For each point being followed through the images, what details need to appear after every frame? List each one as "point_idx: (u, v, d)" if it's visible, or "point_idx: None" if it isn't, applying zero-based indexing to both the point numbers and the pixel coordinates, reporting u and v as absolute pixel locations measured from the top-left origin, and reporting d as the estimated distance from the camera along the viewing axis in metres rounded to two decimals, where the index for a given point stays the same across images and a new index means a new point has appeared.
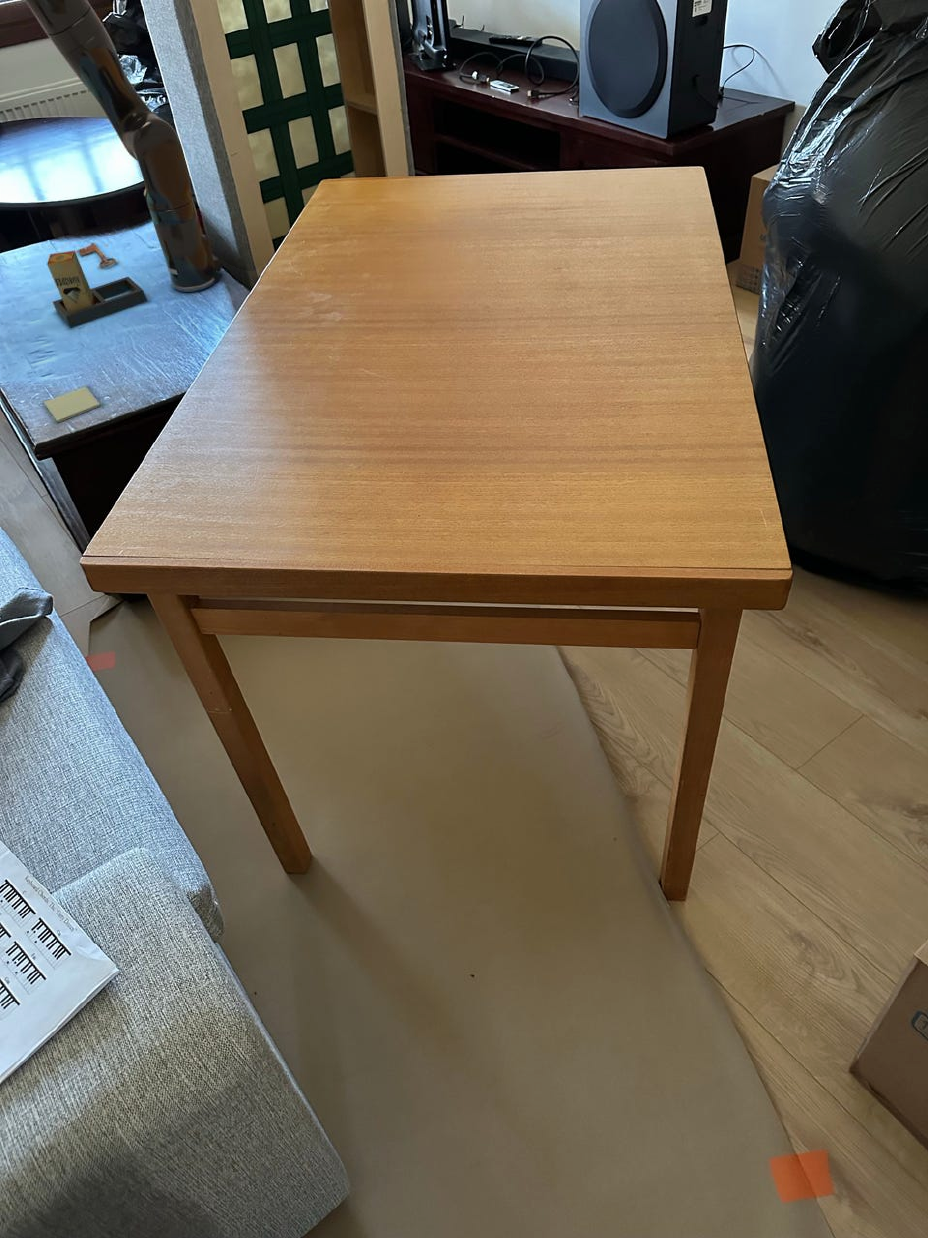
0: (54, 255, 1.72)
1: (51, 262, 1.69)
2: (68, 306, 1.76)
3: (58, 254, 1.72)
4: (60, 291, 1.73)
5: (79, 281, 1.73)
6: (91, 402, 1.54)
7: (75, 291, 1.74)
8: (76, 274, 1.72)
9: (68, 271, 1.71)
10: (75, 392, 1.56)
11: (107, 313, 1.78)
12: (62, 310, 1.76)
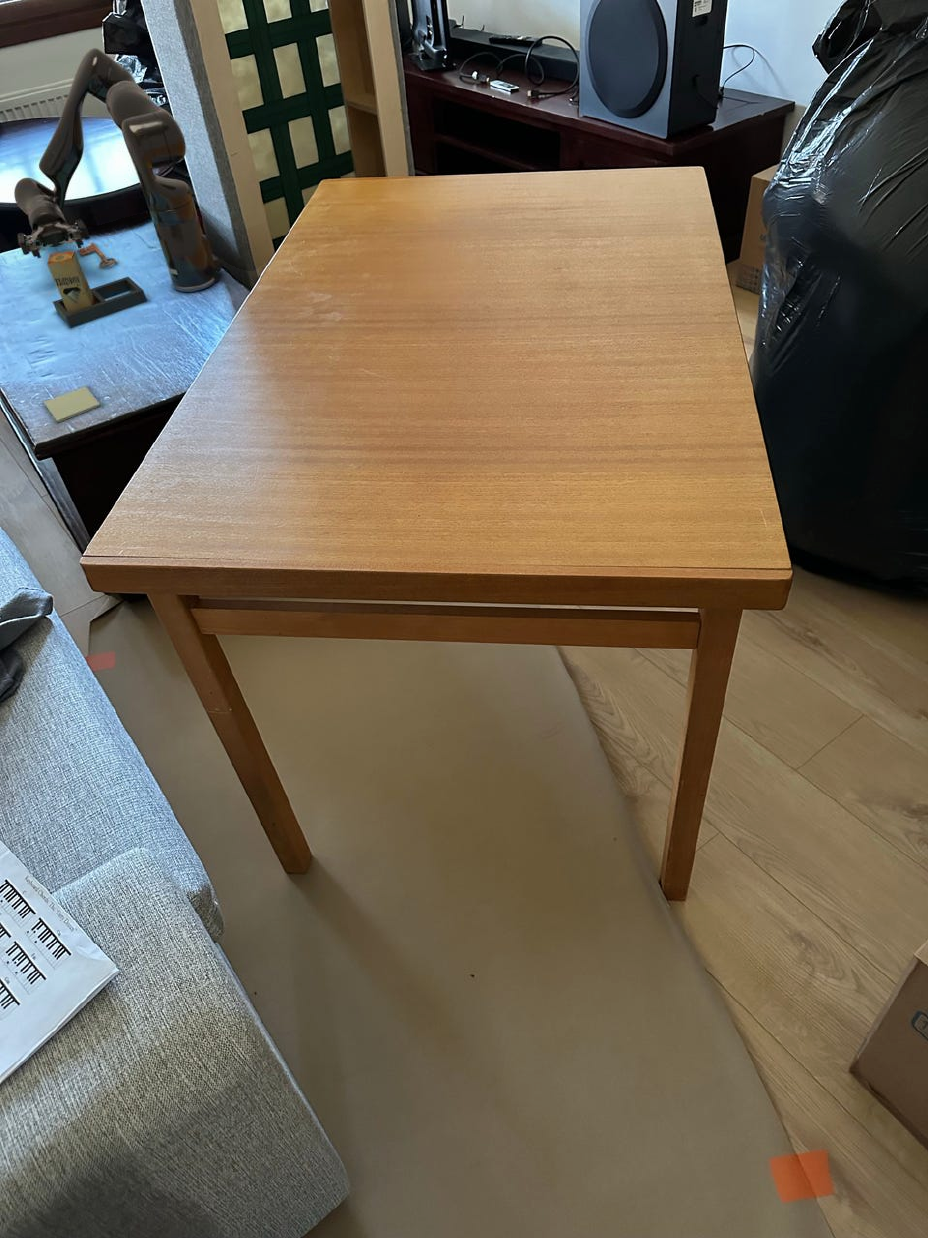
0: (54, 255, 1.72)
1: (51, 262, 1.69)
2: (68, 306, 1.76)
3: (58, 254, 1.72)
4: (60, 291, 1.73)
5: (79, 281, 1.73)
6: (91, 402, 1.54)
7: (75, 291, 1.74)
8: (76, 274, 1.72)
9: (68, 271, 1.71)
10: (75, 392, 1.56)
11: (107, 313, 1.78)
12: (62, 310, 1.76)
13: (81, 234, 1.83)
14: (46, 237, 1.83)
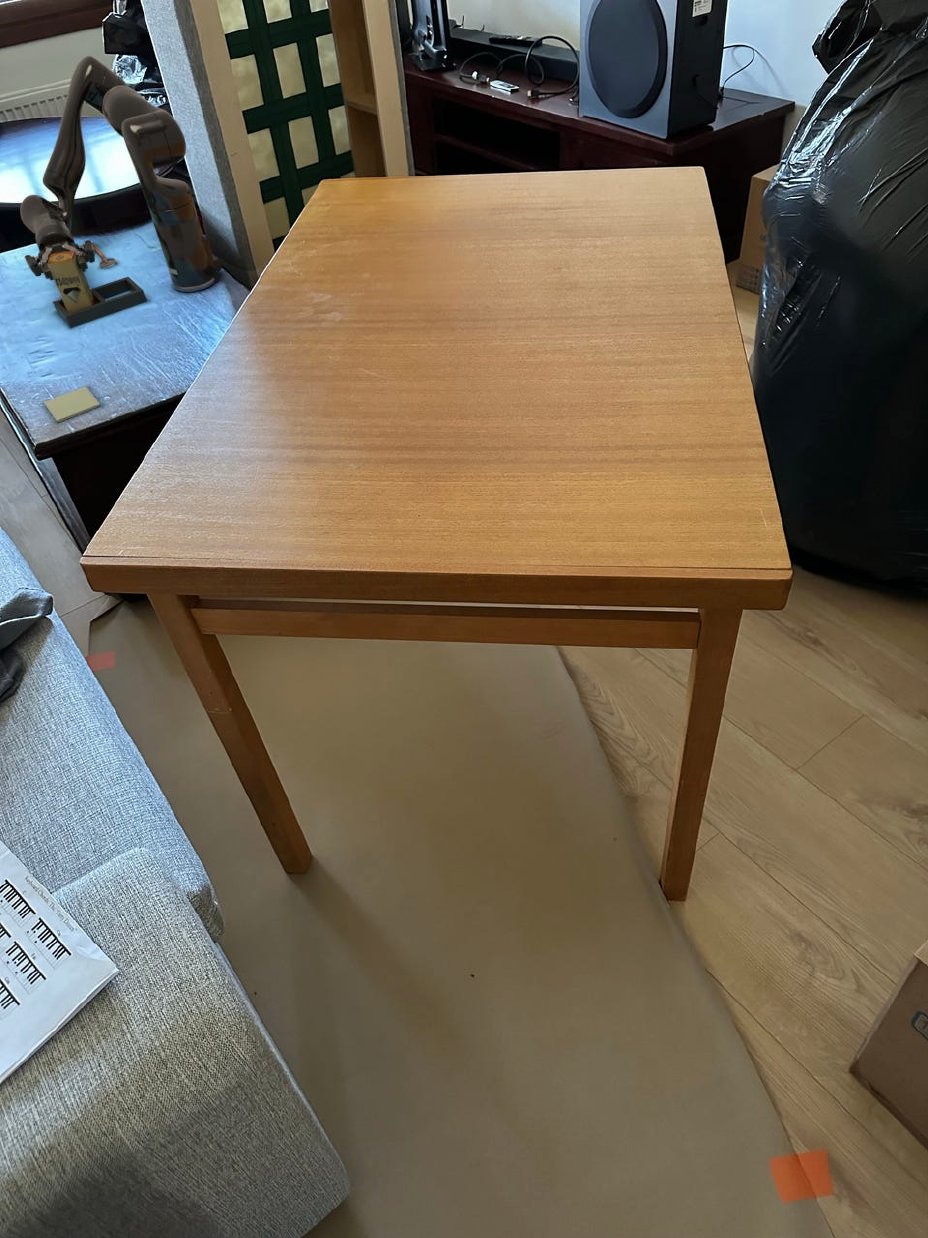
0: (55, 255, 1.72)
1: (52, 262, 1.69)
2: (68, 306, 1.76)
3: (58, 254, 1.72)
4: (60, 291, 1.73)
5: (79, 281, 1.73)
6: (91, 402, 1.54)
7: (75, 291, 1.74)
8: (76, 274, 1.72)
9: (68, 271, 1.71)
10: (75, 392, 1.56)
11: (107, 313, 1.78)
12: (62, 310, 1.76)
13: (86, 257, 1.75)
14: None
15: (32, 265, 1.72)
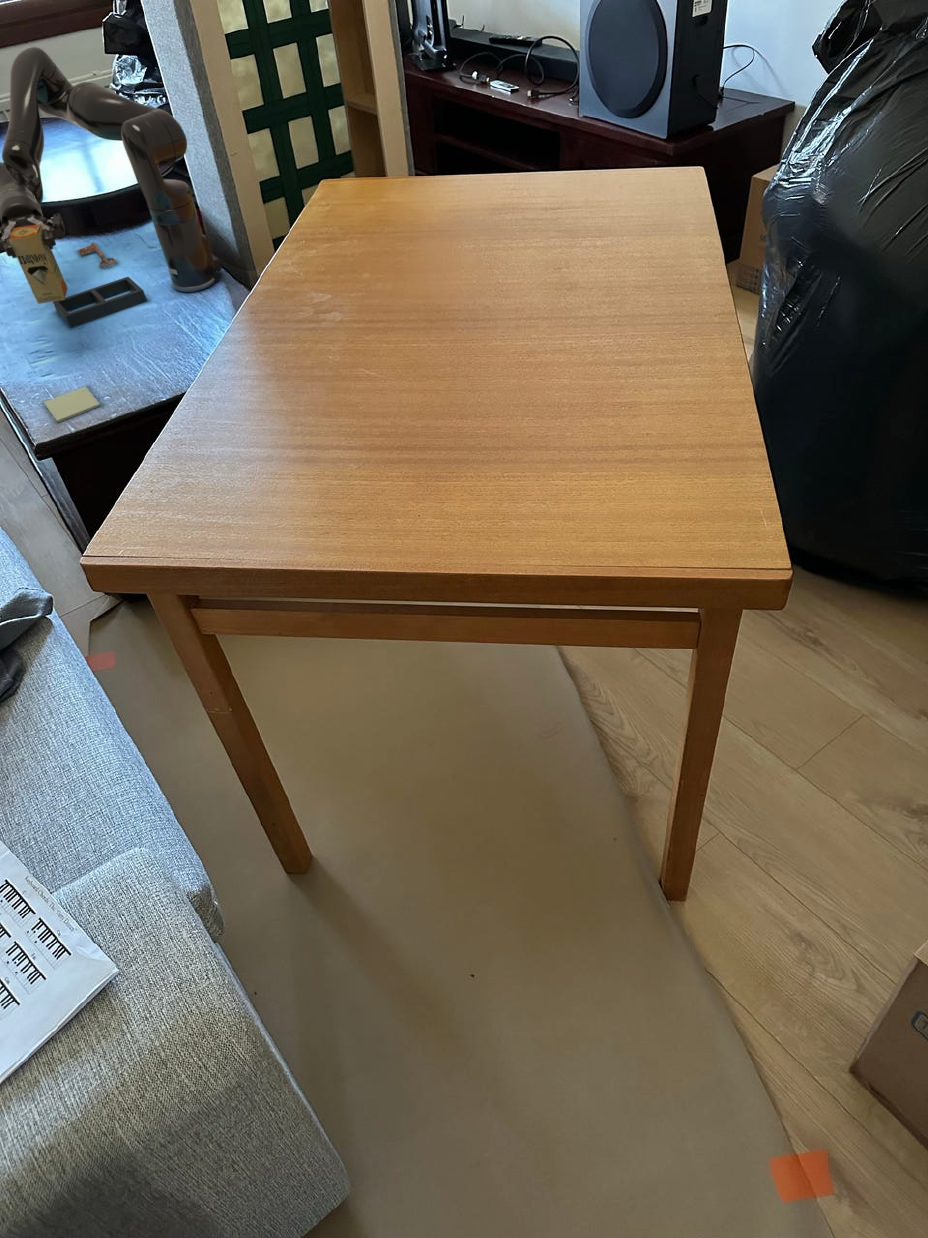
0: (17, 230, 1.51)
1: (14, 237, 1.49)
2: (34, 288, 1.55)
3: (22, 228, 1.52)
4: (24, 270, 1.53)
5: (46, 259, 1.52)
6: (91, 402, 1.54)
7: (41, 270, 1.54)
8: (42, 250, 1.51)
9: (33, 247, 1.51)
10: (75, 392, 1.56)
11: (107, 313, 1.78)
12: (62, 310, 1.76)
13: (53, 232, 1.54)
14: None
15: None
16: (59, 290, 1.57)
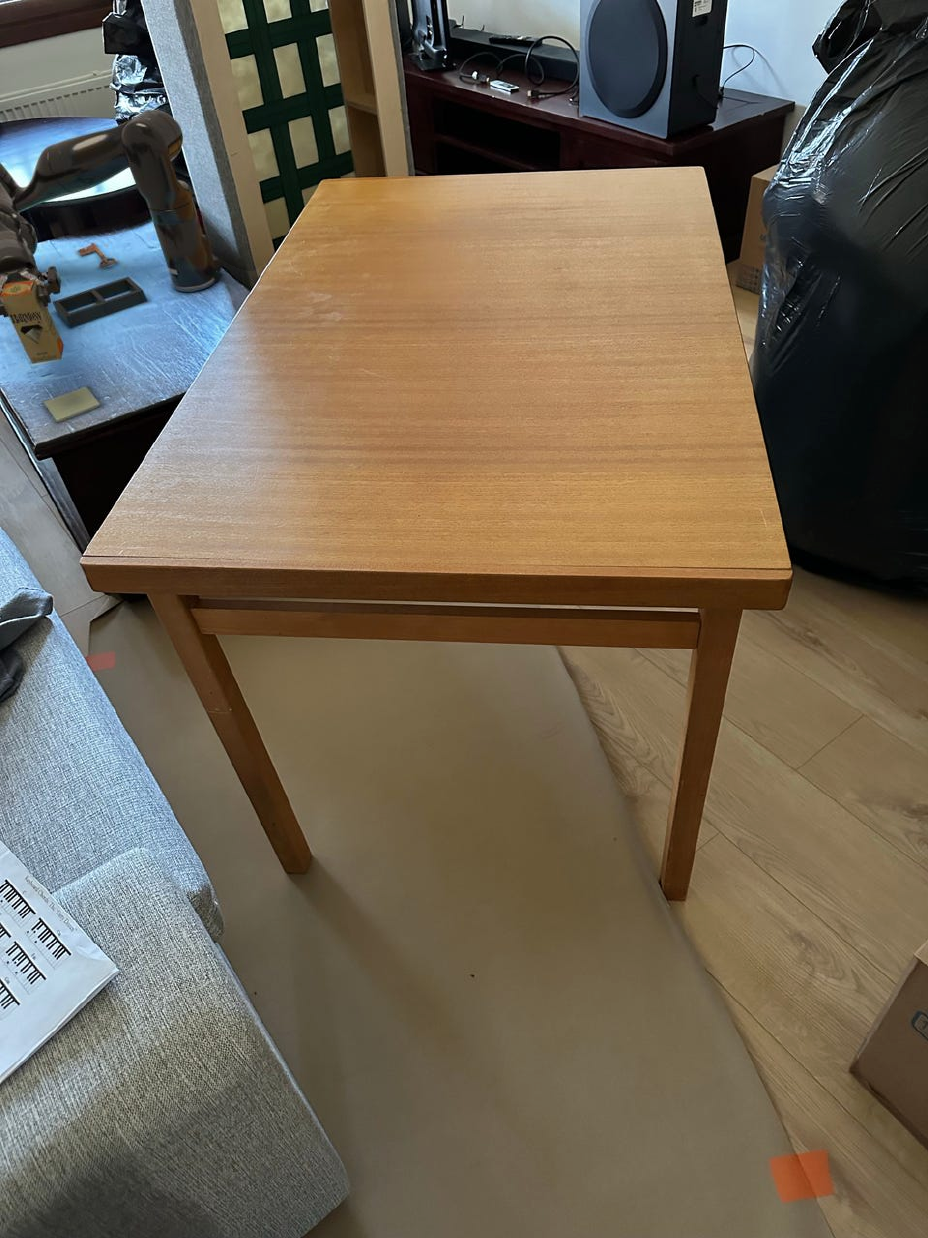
0: (9, 286, 1.39)
1: (5, 295, 1.37)
2: (27, 347, 1.44)
3: (14, 284, 1.40)
4: (17, 330, 1.41)
5: (40, 317, 1.41)
6: (91, 402, 1.54)
7: (36, 329, 1.42)
8: (36, 309, 1.39)
9: (27, 305, 1.39)
10: (75, 392, 1.56)
11: (107, 313, 1.78)
12: (62, 310, 1.76)
13: (48, 288, 1.42)
14: None
15: None
16: (55, 349, 1.45)
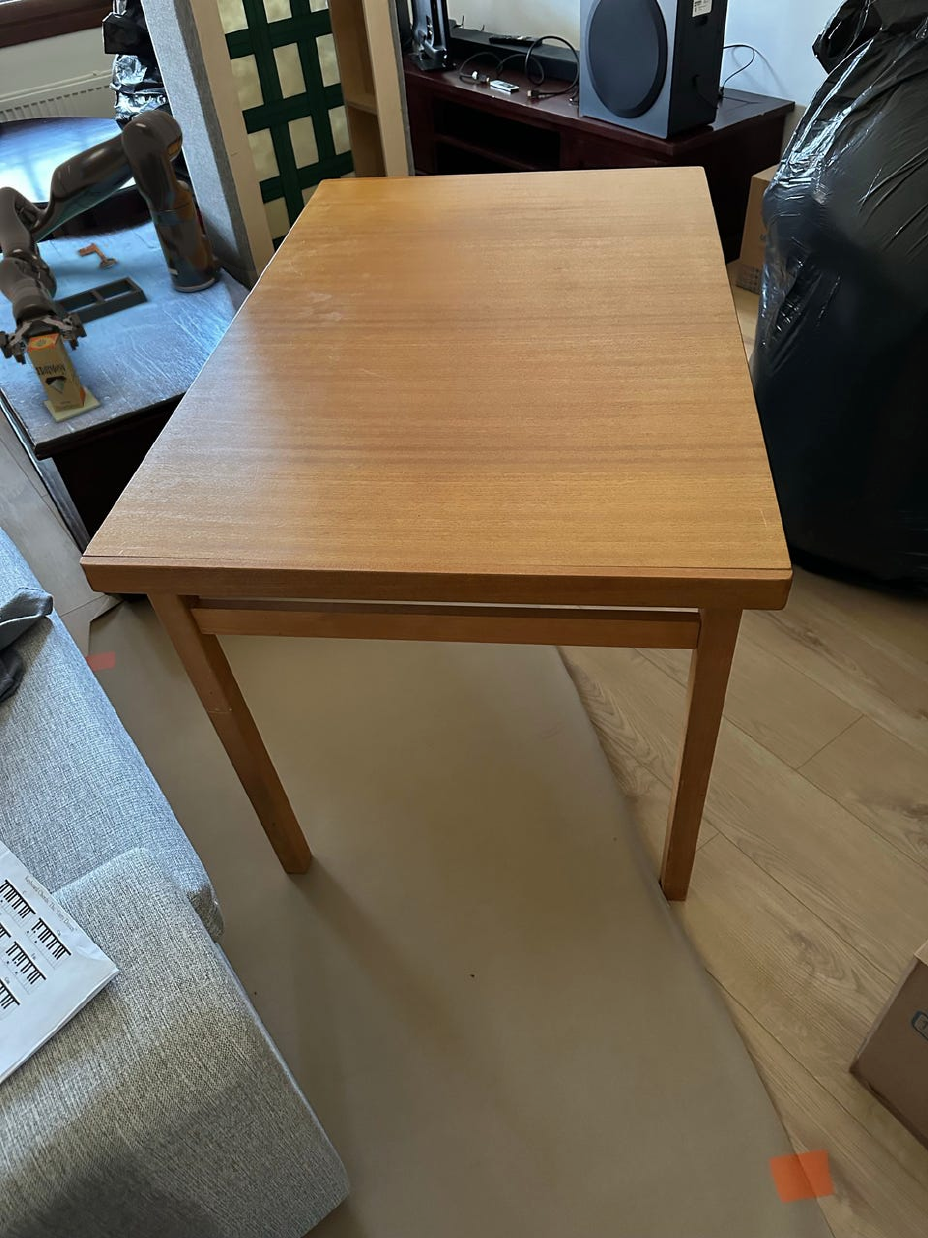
0: (35, 340, 1.46)
1: (31, 350, 1.44)
2: (52, 397, 1.50)
3: (39, 338, 1.46)
4: (42, 381, 1.48)
5: (64, 369, 1.47)
6: (91, 402, 1.54)
7: (60, 380, 1.48)
8: (60, 361, 1.46)
9: (51, 358, 1.45)
10: None
11: (107, 313, 1.78)
12: (62, 310, 1.76)
13: (76, 332, 1.49)
14: (33, 336, 1.48)
15: (0, 346, 1.45)
16: (78, 398, 1.51)
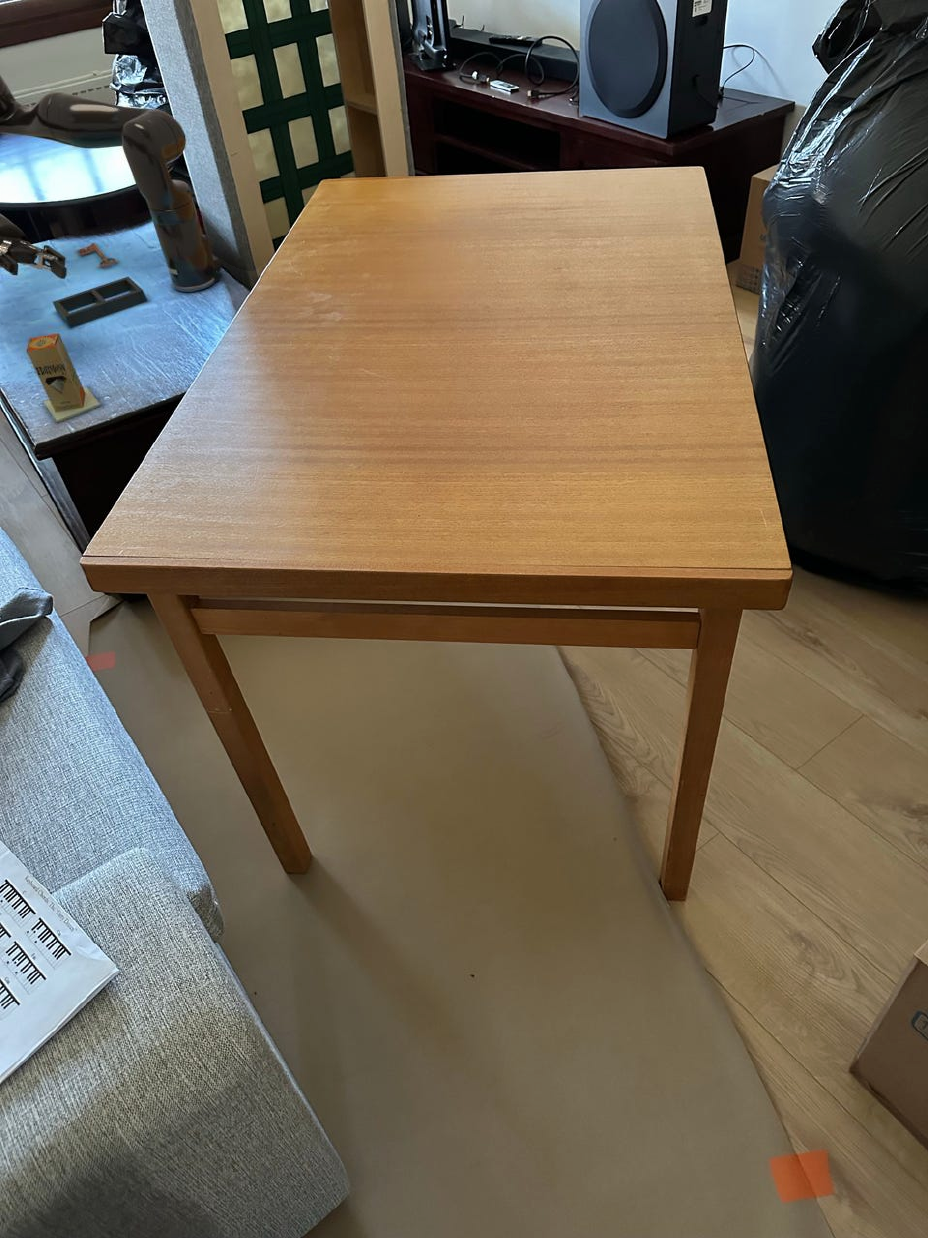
0: (35, 340, 1.46)
1: (31, 350, 1.44)
2: (52, 397, 1.50)
3: (39, 338, 1.46)
4: (42, 381, 1.48)
5: (64, 369, 1.47)
6: (91, 402, 1.54)
7: (60, 380, 1.48)
8: (60, 361, 1.46)
9: (51, 358, 1.45)
10: None
11: (107, 313, 1.78)
12: (62, 310, 1.76)
13: None
14: (14, 253, 1.50)
15: None
16: (78, 398, 1.51)
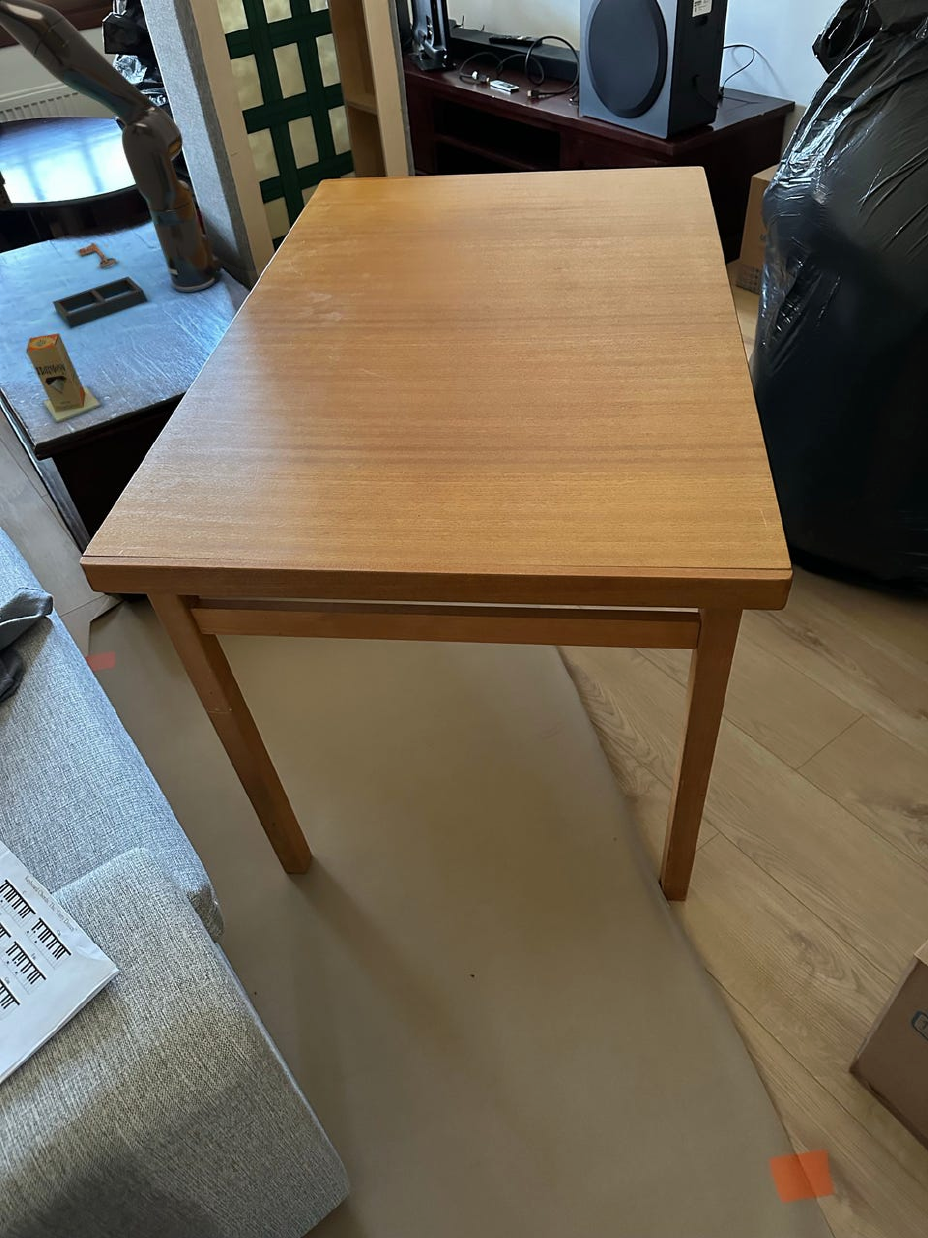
0: (35, 340, 1.46)
1: (31, 350, 1.44)
2: (52, 397, 1.50)
3: (39, 338, 1.46)
4: (42, 381, 1.48)
5: (64, 369, 1.47)
6: (91, 402, 1.54)
7: (60, 380, 1.48)
8: (60, 361, 1.46)
9: (51, 358, 1.45)
10: None
11: (107, 313, 1.78)
12: (62, 310, 1.76)
13: None
14: None
15: (4, 182, 1.42)
16: (78, 398, 1.51)
